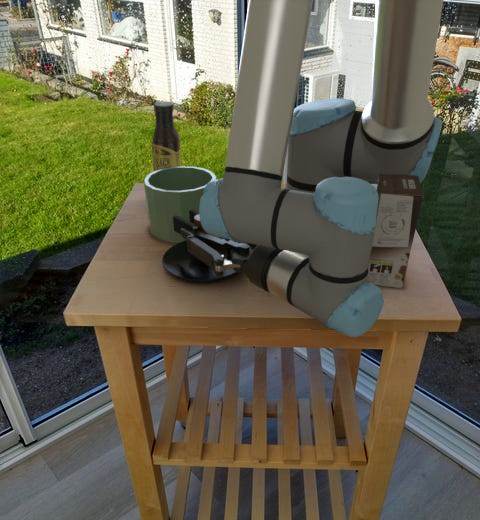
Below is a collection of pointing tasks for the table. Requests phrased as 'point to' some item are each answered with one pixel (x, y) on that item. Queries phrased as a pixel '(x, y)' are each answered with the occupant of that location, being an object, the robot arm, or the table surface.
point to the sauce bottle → (165, 138)
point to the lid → (191, 263)
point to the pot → (173, 197)
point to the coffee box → (394, 228)
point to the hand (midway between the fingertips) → (183, 220)
